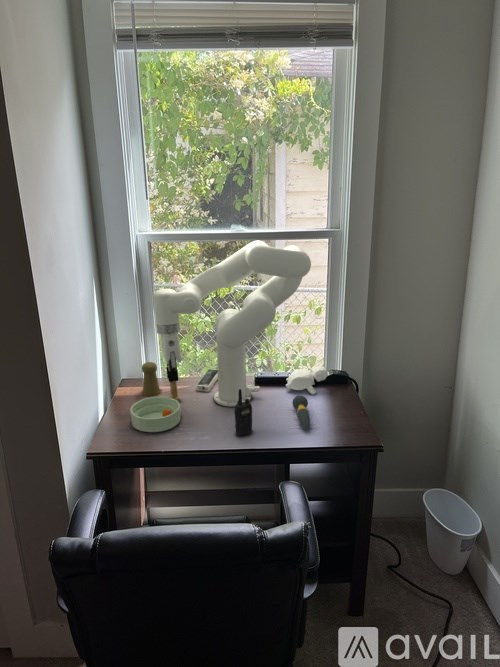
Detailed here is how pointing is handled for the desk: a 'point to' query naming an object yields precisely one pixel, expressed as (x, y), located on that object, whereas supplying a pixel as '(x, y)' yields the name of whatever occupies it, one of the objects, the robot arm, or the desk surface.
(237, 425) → the two-way radio
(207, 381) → the multiport hub
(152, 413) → the bowl
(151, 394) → the cork
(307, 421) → the dark grey microphone
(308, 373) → the white animal figurine
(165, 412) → the ball
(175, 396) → the muddler
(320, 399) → the desk surface
